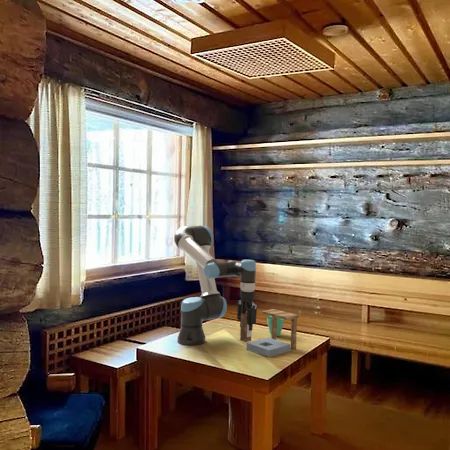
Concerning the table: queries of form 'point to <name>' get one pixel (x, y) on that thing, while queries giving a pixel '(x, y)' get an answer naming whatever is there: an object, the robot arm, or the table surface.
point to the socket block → (268, 347)
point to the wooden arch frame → (286, 316)
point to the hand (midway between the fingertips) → (245, 335)
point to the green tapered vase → (279, 325)
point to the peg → (244, 328)
